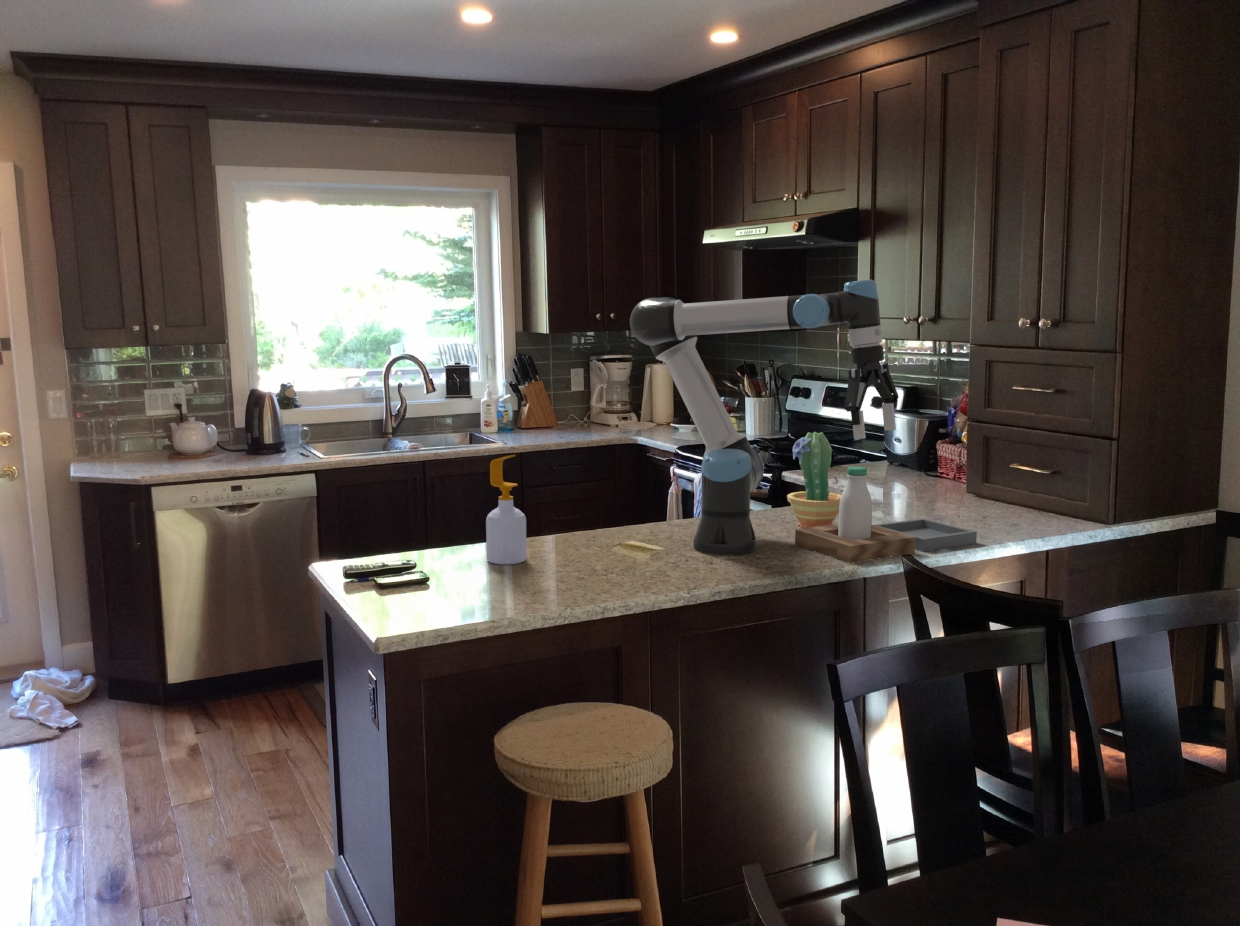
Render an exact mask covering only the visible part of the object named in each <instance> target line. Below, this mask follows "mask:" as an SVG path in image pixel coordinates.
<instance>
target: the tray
mask: <svg viewBox="0 0 1240 926" xmlns="http://www.w3.org/2000/svg"><path fill="white" fill-rule="evenodd" d="M872 525H873V526H877V527H881V528H884V529H888V530H892V531H895V532H899V533H903V534H906V535H910V536H914V537H916V538H915V551H920V552H928V551H934V550H935V551H936V550H941V549H948V548H949V549H950V548H953V547H954V548H955V547H962V546H968V545H975V544H977V538H978V537H977V535H978V531H976V530H972V529H968V528H964V527H960V526H957V525H956V526H955V525H953V524H952V525H951V524H948V523H944V522H940V521H937V520H931V519H927V518H917V519H915V518H914V519H910V520H901V521H893V522H886V523H878V524H872Z"/></svg>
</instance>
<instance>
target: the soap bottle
mask: <svg viewBox="0 0 1240 926" xmlns="http://www.w3.org/2000/svg"><path fill="white" fill-rule="evenodd" d="M514 457H516V454H511V455H505V456H501V457H498V458H495V459H492V460H491V461H490V463H489V478H490V479H489V481H490V485H491V486H493V487H495V488H499V491H501V495H500V496H498V505H497V507H496V508H494V509H492V510H491V511H490V512H489V513H488V514H487V516H486V518H485V519H486V520H485V529H486V530H485V532H486V536H485V538H486V539H485V541H486V560H487V561H488V563H491V564H494V565H504V566H507V565H509V566H510V565H518V564H522V563H523V562H526V560H527V517H526V515H525V513H523V512H522V511H521V510H520V509H519V508H516V507H515V506H514V496H513V495H510V491H512V490H513V489H512V488H515V487H518V486H519V485H518V483H515V482H507V481H505V480H504V477H503V470H504V469H503V464H504V461H505V460H507V459H510V458H514Z"/></svg>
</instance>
